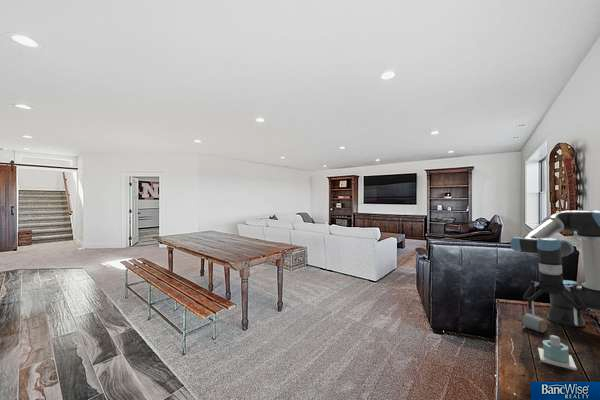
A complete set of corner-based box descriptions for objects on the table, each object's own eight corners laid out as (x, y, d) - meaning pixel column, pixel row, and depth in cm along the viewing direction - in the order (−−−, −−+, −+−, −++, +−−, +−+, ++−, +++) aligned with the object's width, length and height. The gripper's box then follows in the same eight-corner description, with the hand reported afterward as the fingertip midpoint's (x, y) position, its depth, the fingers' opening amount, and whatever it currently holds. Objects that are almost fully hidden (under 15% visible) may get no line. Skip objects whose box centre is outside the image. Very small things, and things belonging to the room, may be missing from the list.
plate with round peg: (538, 349, 122) (536, 328, 122) (571, 357, 115) (569, 335, 115) (540, 361, 113) (539, 338, 113) (576, 370, 106) (575, 346, 106)
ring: (555, 350, 118) (554, 339, 118) (574, 361, 110) (573, 349, 110) (538, 351, 118) (537, 340, 118) (556, 362, 110) (556, 350, 110)
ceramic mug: (540, 334, 134) (540, 320, 134) (522, 328, 142) (521, 314, 142) (552, 330, 138) (551, 316, 138) (533, 324, 146) (533, 310, 146)
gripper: (514, 271, 120) (517, 315, 120) (594, 279, 103) (597, 331, 103) (514, 267, 126) (517, 310, 125) (590, 274, 109) (594, 324, 109)
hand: (554, 319), depth 114 cm, fingers open, 13 cm apart
